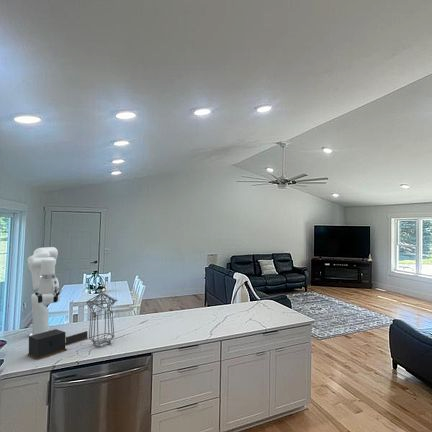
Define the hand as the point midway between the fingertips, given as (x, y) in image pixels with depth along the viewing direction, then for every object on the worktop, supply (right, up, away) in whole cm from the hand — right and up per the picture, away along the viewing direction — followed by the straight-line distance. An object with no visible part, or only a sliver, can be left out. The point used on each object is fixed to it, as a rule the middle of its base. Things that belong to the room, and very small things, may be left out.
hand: (47, 302), depth 221 cm
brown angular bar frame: (+8, -30, +13) cm, 34 cm away
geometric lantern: (+33, -30, +5) cm, 45 cm away
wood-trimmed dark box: (+7, -30, -10) cm, 32 cm away
